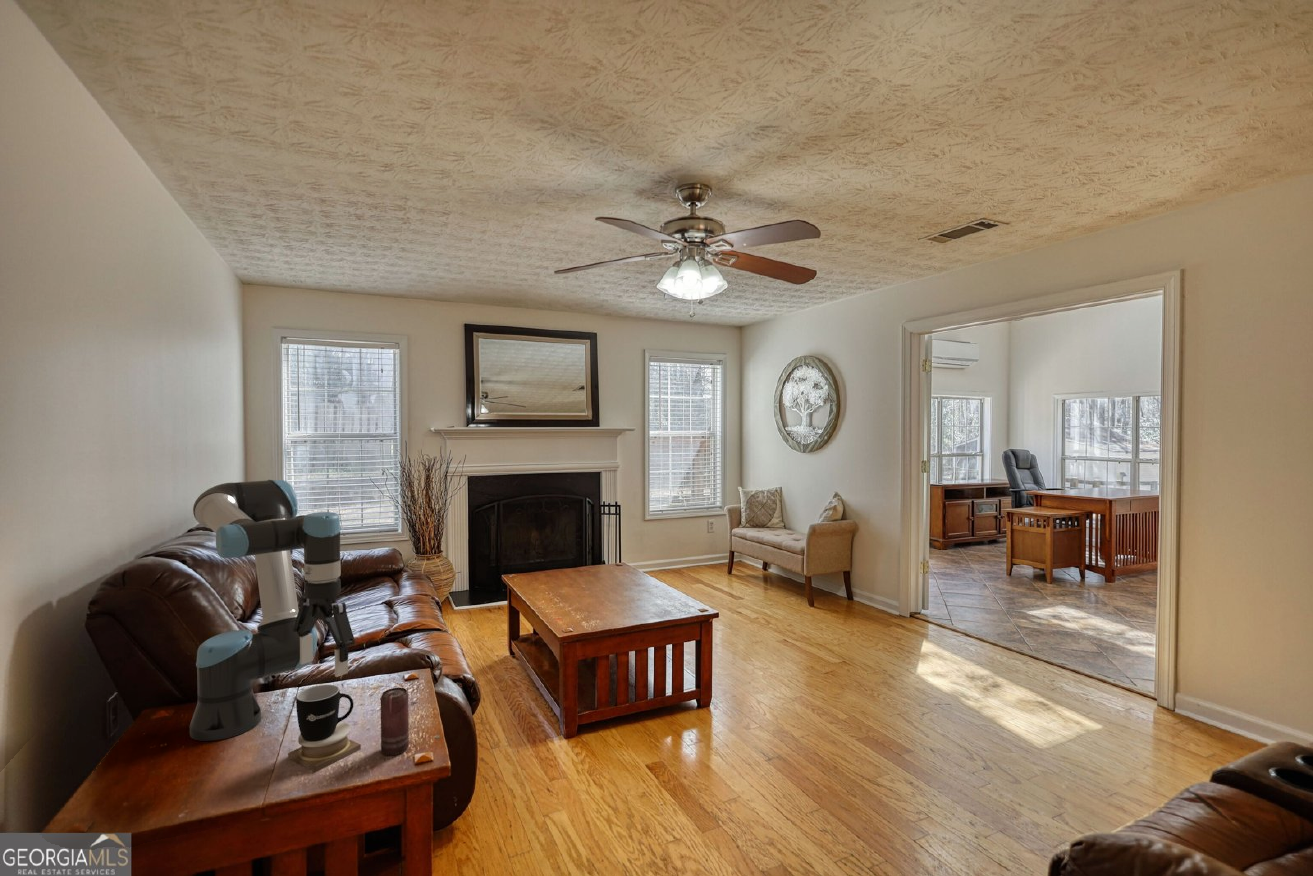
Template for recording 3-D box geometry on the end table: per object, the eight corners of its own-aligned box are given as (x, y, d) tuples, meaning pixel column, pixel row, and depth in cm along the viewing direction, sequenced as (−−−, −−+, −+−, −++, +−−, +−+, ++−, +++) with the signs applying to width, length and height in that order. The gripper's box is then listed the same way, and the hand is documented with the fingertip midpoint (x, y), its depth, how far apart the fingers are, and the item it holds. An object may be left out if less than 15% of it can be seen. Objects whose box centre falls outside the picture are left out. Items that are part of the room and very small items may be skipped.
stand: (288, 758, 146) (287, 737, 146) (332, 737, 155) (332, 717, 155) (316, 771, 140) (315, 749, 140) (360, 749, 150) (360, 728, 150)
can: (379, 758, 146) (378, 699, 145) (383, 744, 152) (382, 688, 151) (406, 755, 147) (406, 696, 147) (410, 741, 153) (409, 685, 153)
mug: (299, 749, 140) (299, 705, 140) (294, 733, 147) (293, 690, 147) (357, 733, 147) (357, 691, 147) (349, 718, 155) (349, 678, 154)
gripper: (276, 575, 149) (277, 663, 150) (340, 591, 137) (341, 686, 138) (307, 568, 156) (308, 652, 157) (371, 583, 143) (371, 674, 144)
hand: (323, 668), depth 147 cm, fingers open, 13 cm apart
